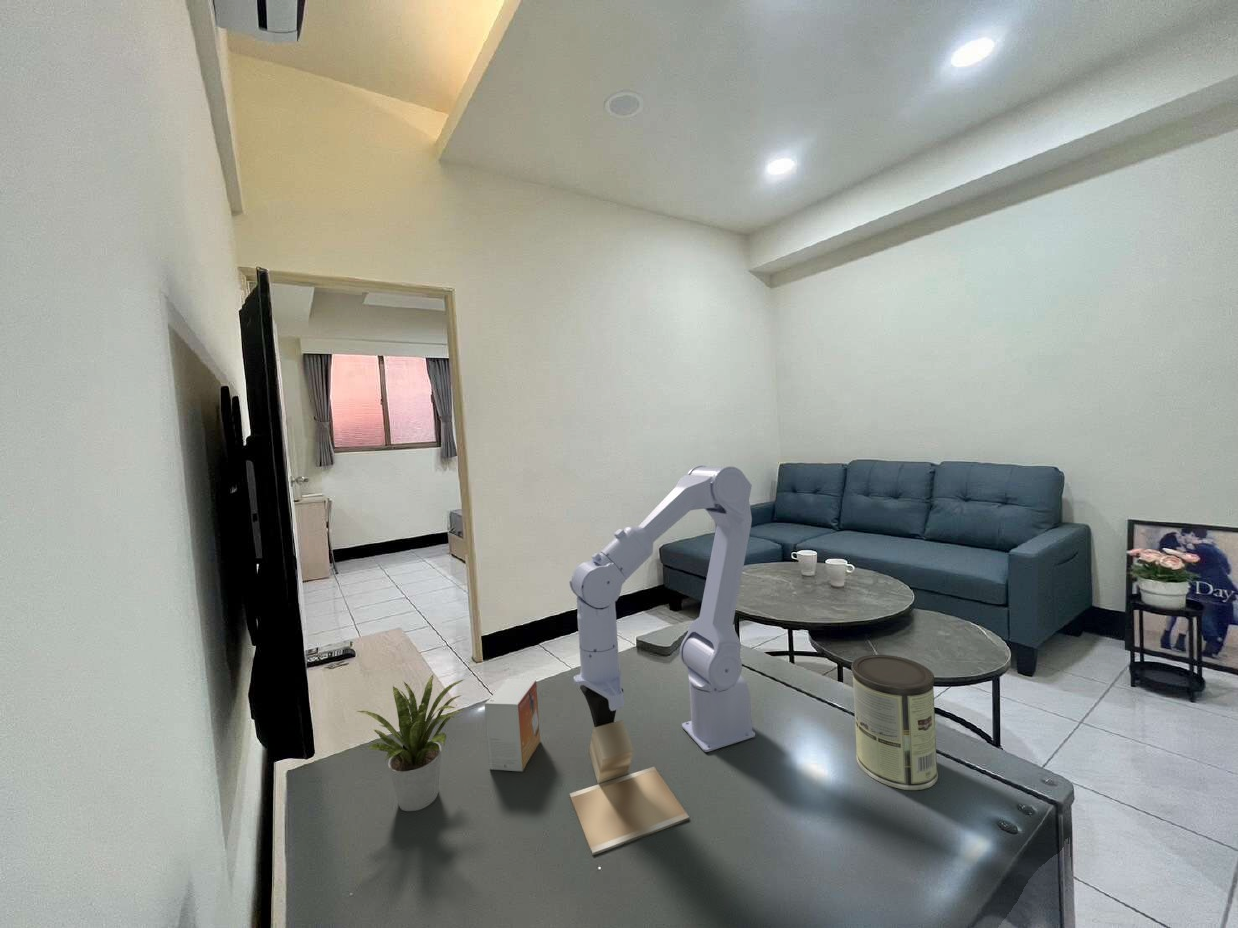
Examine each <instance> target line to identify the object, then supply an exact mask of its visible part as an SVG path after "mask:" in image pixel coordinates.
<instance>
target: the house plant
mask: <svg viewBox="0 0 1238 928" xmlns="http://www.w3.org/2000/svg"><path fill="white" fill-rule="evenodd" d="M433 680H434V674H432V675H431V676H430V677H429V679H428V681H427V682H426V685H425V688H424V692H423V696H422V698H421V702H420V705H418V704H417V699H416V696H415V692H414V691H413V690H412V688H411V687H410V685H409V684H408V683H406V682H405V681H403V683H404V687H405V689H406V691H407V693H408V696H409V697H407V696H406V694H405V693H404V692H403V691H402V690H400V689H398V688H397V687H395V686H394V684H393V685H392V693H393V699H394V703H395V707H396V713H397V718H398V728H399V732H398V731H397V730H396V729H395V727H394V726H393V725H392V724H391V723H390V722H389V721H388V720H387V719H385V718H384V717H383V716H381V715H380V714H377V713H375V712H371V711H368V710H367V711H366V710H356V712H357V713H361V714H365V715H367V716H370V717H372V718H374V719H375V721H377V722H379V723H380V724H379V726H380V727H382V728H386V729H387V730H388V731H389V732H390V734H392V735H393V736H394V737H395V738H396V740H398V741H399V742H400V744H399V743H398V742H397V741H395V740H394V739H393V738H392V737H390V736H388V735H387V734H385V733H384V732H382V731H380V730H377V729H373V730H374V732H375V733H376V734H377V735H378V736H379V738H380V739H381V740H382V741H383V742H378V743H374V744H372V745H370V746H368V748H366V750H368V749H369V750H374V751H375V750H376V751H380V752H386V753H387V754H386V758H385V760H384V762H387V760H388V763H387V766H388V769H389V770H388V771H389V773H390V777H391V781H392V785H393V788H394V791H395V796H396V799H397V802H398V805H399V808H400V810H402V811H405V812H414V811H420V810H422V809H425V808H427V807H428V806H429V805H431V804H433V802H434V801H435V800H436V799H437V797H438V794H439V786H440V785H439V783H440V771H441V760H442V750H443V749H442V746H441V744H442V745H443V746H445V743H446V739H447V734H446V733H443V732H442V733H441V731H442V729H443V727H445V725H446V724H447V723H448V721H449V720H450V719H451V718H454V719H455V717H454V715H455V714H457V713H458V712H459V713H460V712H461V711H462V710H463V708H461V709H458V710H455V711H453V712H451V713H450V714H442V713H443V712H444V710H445V709H456V707H455V706H452V705H449V704H451V703H452V701H454V700H456V699H458V698H460V697H461V696H462V695H456V696H454V697H452V698H450V699H448V700H447V701H446V702H445V703H444V704H443V705H442V706H440V707H439V708H438V709H437V710H436V708H437V707H438V705H439V704H440V702H441V700H442V699H443V698H444V697H445V696H446V695H447V694H448V693H449V691H450V690H451V689H452V688H453V687H454V686H456V685H457V684H460V683H462V682H463V681H465V680H466V678H465V679H461V680H458V681H455V682H453V683H451V684H449V685H448V686H447V687H446V688H444V689H443V690H442V691H441V692H440V693H439V695H437V697H436V698H435V700H434V701H433V704H432V706H431V708H430V710H429V709H428V708H429V704H430V699H431V696H432V691H433V686H434V685H433ZM428 710H429V712H428ZM435 710H436V711H435ZM427 712H428V715H427ZM437 712H438V714H437V715H436V713H437ZM435 715H436V717H435V719H434V720H433V718H434V716H435ZM432 720H433V721H432ZM441 721H442V722H441ZM440 722H441V723H440ZM439 723H440V725H439V727H438V728H437V730H436V732H435V733H434V735H433V736H432V738H431V740H429V739H430V736H431V735H432V733H433V730H434V728H436V726H437V725H438V724H439ZM440 743H441V744H440ZM401 744H402V745H401Z"/></svg>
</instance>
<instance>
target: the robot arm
mask: <svg viewBox="0 0 1238 928" xmlns="http://www.w3.org/2000/svg"><path fill="white" fill-rule="evenodd" d="M752 487H753V486H752V484H751V482H750V481H749V479H748V478H747V477H746V475H745V474H744V473H743V471H742V470H741V469H740V468H738V467H735V466H723V467H722V466H706V465H697V466H694V467H692V468H691V469H690V470H689V471H688V472H687V474H684V475H683V476H682V477H680V478H679V480H678V482H677V483H676V485H675V486H674V488H673V489H672V490H671V491H670V492H669V493H668V494H667V495H666V496H665V497H664V499H662V501H661V502H659V503H658V505H657V506H656V507H655V508H653V510H652V511H651V512H650V513H649V514H648V515H647V516H646V517H645V518H644V520H643V521H641V522H640V524H639V525H638V526H626V527H624V528H623V529H621V528H618V529H616V531H615V532H614V533H613V535H614V538H613V539H612V540H611V541H610V542H608V544H607V545H605V547H604V548H602V549H601V550H600V551H599V552H594V553H593V554H592V555H591V558H592V559H591V560H588V561H584V562H581V563H580V564H579V565H578V566H577V567H576V568H575V570H574V571H573V574H572V576H571V580H570V581H569V587H570V590H571V591H572V593H573V594H574V595H576V609H577V616H576V618H577V629H578V631H577V632H578V644H579V648H578V649H579V659H580V661H579V662H580V671H579V672H580V673H579V674H576V675H574V676H572V677H573V683H574V685H575V686H577V687H579V689H580V691H581V692H582V694H583V695H584V698H585V700H586V702H587V705H588V707H589V711H590V716H591V719H592V723H593V728H595V727H598V726H602V725H606V724H609V723H613V722H615V718H616V713H617V710H621V709H624V708H625V707H626V703H625V694H624V689H623V688H622V671H621V668H620V657H619V641H618V628H617V611H616V602H617V601H618V599H619V598H620V595H621V591H622V587H623V585H624V583H625V582H626V581H627V580H628V579H629V578H630V577H631V576H632V575H633V574H634V573H636V571H637V570H638V569H639V568H640V567H641V566H642V565H643V564H644V563H645V562H646V561H647V560H648V559H649V558H650V557H651V556H652V555H653V553H654V542H656V541H657V540H658V539H659V538H660V537H661V536H662V535H664V534H665V533H666V532H667V531H669V530H670V529H671V528H672V527H673V526H674V525H675V524H677V522H679V521H680V520H681V519H683V518H684V517H685V516H686V515H687V514H688V513H689V512H691V511H694V510H695V511H697V510H703V509H704V510H706V511H707V513H708V515H709V516H710V517H711V519H712V520H713V521H714V523H715V525H716V526H715V534H714V537H713V538H714V539H713V543H712V549H711V554H710V560H709V564H708V569H707V570H708V571H707V575H706V580H705V585H704V590H703V595H702V596H703V597H702V601H701V607H700V611H699V617H697V618H696V619H694V620H693V621H692V622H690V623H689V624H688V625H689V626H688V630H687V634H686V635H685V637H684V638H683V640H682V641H681V644H680V647H679V657H680V660H681V662H682V663H683V664H684V665H685V667H687V675H688V685H689V688H688V689H689V690H688V691H689V704H690V720H689V721H685V722H682V723H681V728H682V729H683V730H684V731H685V732H686V733H687V734H688V735H689V737H690V738H691V739H692V740H694V742H695V743H696V744H697V745H698V746H699V748H700V749H701V750H702V751H703V752H704V753H708V752H712V751H714V750H718V749H720V748H724V747H728V746H730V745H733V744H737V743H740V742H743V741H745V740H749V739H752V738H755V737H756V733H755V731H753V720H752V719H753V717H752V716H753V714H752V701H751V693H750V689H749V685H748V684H747V683H748V682H746V680H745V679H744V677H743V676H742V670H743V664H742V658H741V649H742V643H741V640H740V637H739V636H738V634H737V632H736V630H735V628H734V619H735V614H736V609H737V603H738V599H739V598H738V597H739V593H740V587H741V581H742V576H743V571H744V565H745V561H746V555H747V549H748V543H749V538H750V533H751V529H752V524H753V523H752V521H753V517H752V511H751V504H750V497H751V491H752Z"/></svg>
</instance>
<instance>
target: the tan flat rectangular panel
mask: <svg viewBox="0 0 1238 928" xmlns="http://www.w3.org/2000/svg"><path fill="white" fill-rule="evenodd" d="M569 799H570V801H571V803H572V806H573V809H574V811H575V813H576V815H577V818H578V822H579V823H580V824H579V825H580V826H581V829H582V831H583V835H584V836H585V839H586V841H587V845H588V847H589V850H590V852H591V855H592V856H595V855H599V854H601V853H603V852H605V851H609V850H611V849H615V848H616V847H621V846H622V844H623V845H625V844H628V843H630V842H633V841H635V840H638V839H641V838H644V837H647V836H650V835H652V834H655V833H657V832H660V831H663V830H665V829H668V828H671V827H674V826H676V825H679V824H681V823H684V822H687V821H689V820H690V816H689V815H688V813H687V812H686V810H685V809H684V807H683V806H682V805H681V803H680V802H679V800H678V799H677V798H676V797H675V795H674V793H673V792H672V791H671V789H670V787H669V786H668V785H667V783H666V782H665V780H664V779H663V778H662V775H660V773H659V772H658V770H657V769H656V767H655V766H652V767H649V768H645V769H642V770H639V771H636V772H632V773H630V774H627V775H626V776H623V777H620V778H617V779H614V780H610V781H607V782H604V783H601V784H598V785H597V784H595V785H593V786H592V785H591V786H589V787H586V788H583V789H579V790H577V791H573V792H571V793H569ZM624 843H625V844H624Z"/></svg>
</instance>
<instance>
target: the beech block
mask: <svg viewBox="0 0 1238 928" xmlns="http://www.w3.org/2000/svg"><path fill="white" fill-rule="evenodd" d="M633 754H634V748H633V745H632V742H631V739H630V736H629V734H628V730H627V728H626V725H625V722H624V719H620V720H616V721H614V722H613V723H609V724H606V725H602V726H598V727H593V729H592V734H591V739H590V745H589V751H588V756H589V760H590V763H591V767H592V771H593V774H594V778H595V781H596V785H598V784H601V783H604V782H607V781H610V780H614V779H617V778H620V777H623V776H626V775H628V773H629V768H630V765H631V762H632V758H633Z"/></svg>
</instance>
